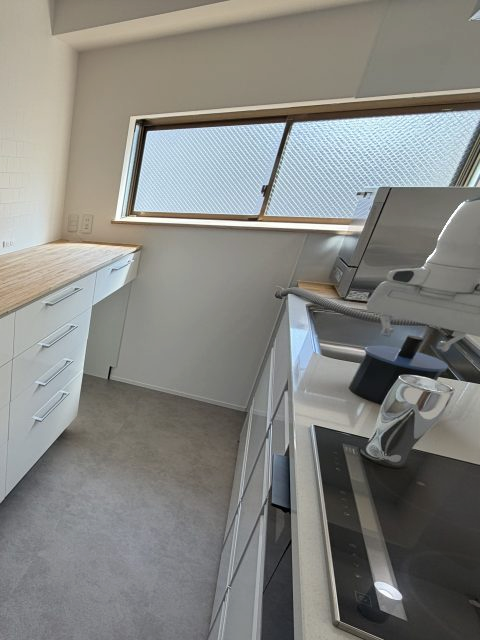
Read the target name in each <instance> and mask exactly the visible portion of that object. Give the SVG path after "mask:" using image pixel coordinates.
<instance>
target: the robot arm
mask: <svg viewBox="0 0 480 640" xmlns="http://www.w3.org/2000/svg"><path fill="white" fill-rule="evenodd" d="M365 307H366V310H367V311H368V312H372V313H376V314H381V315H382V316H381V317H380V323H381V326H382V327H381V328H382V329H381V331H380V333H379V335H380V336H383V337H386V338H387V337H391V336H392V335H393V333H394V332H395V328H393V327H391V321H392V320H394V319H395V318H397V319H401V320H405V321H410V322H415V323H419V324H423V325H428V326H431V327H436V328H440V329H444V330H448V331H452V334H451V337H453V338H451V339H449V340H447V341H445V340H441V341H438V343H437V346H435V347H434V349H435V350H437V351H440V352H444V353H445V352H447V351H448V350H449V349H450V347H451V346H452V345H453V344H454V343H457V342H458V341H460V340H461V339H463V338H465V337H466V335H470V336H475V337H479V338H480V195H475V196H472V197H469V198H467V199H465V200H464V201H463V202H462V203H460V205H459V206H458V207H457V208H456V210H455V211H454V212H453V214H452V215H451V216H450V217H449V219H448V221H447V222H446V224H445V226H444V228H443V229H442V231H441V232H440V234H439V236H438V238H437V241H436V247H435V248H434V251H433V252H432V253H431V254H430V255H429V256H428V257H427V259H426V260H425V262H424V264H423V265H422V266H421V267H419V266H413V267H409V268H399V269H398V268H397V269H393V270H390V271H389V272H388V273H387V274H386V280H385V281H383V282H381V283H379V285H377V287H376V288H375V289H374V290H373V292H372V294H371V295H370V297H369V299H368V300H367V303H366V304H365Z"/></svg>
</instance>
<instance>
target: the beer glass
mask: <svg viewBox="0 0 480 640" xmlns="http://www.w3.org/2000/svg"><path fill="white" fill-rule="evenodd" d="M455 392H456V389H455V388H454V387H453V386H451V385H450V384H447V383H444V381H443V382H442V381H440V380H438V379H437V380H434V379H430V378H426V377H422V376H416V375H400V376H399V378H398V379H397V381H396V382H395V384H394V385H393V386H392V388H391V389H390V391H389V392H388V394H387V395H386V397H385V399H384V401H383V403H382V405H381V404H380V405H381V406H380V408H379V410H378V415H377V418H376V422H375V426H374V428H373V431H372V433H371V435H370V437H369V439H368V440H367V441H366V442H365V443H364V444H363V445H362V446H361V447H360V448H359V453H360V454H361V455H362V456H363V457H364V458H366V459H367V460H369V461H371V462H373V463H375V464H378V465H381V466H383V467H387V468H392V469H402V468H404V467H405V466H406V465H407V462H408V458H409V455H410V454H411V453H410V452H411V451H412V449H413V448H414V447H415V445H416V444H417V443H418V442H419V441H420V440H421V439H422V438H423V437H424V436H425V435H426V434H427V433H428V432H429V431H430V430H431V429H432V428H433V427H434V426H435V425H436V423H438V421H439V420H440V419H441V417H442V416H443V414H444V413H445V411H446V409H447V407H448V405H449V403H450V401H451V399H452V397H453V395H454V393H455Z"/></svg>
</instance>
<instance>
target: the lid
mask: <svg viewBox="0 0 480 640" xmlns="http://www.w3.org/2000/svg"><path fill="white" fill-rule="evenodd" d="M424 340H425V339H424V337H422V336H421V337H420V336H417V335H407V336H406V338H405V340H404V342H403V343H402V345H401V347H395V346H389V345H377V344H376V345H368V346H366V347H365V349H364V352H365V354H366V353H367V354H368V355H370V356H372V357H374V358H376V359H379V360H382V361H384V362H387V363H391V364H394V365H398V366H402V367H406V368H411V369H417V370H424V371H442V372H445V371H446V370H448V368H449V365H448V364H447V363H446V362H445V361H443V360H441V359H439V358H437V357H434V356H432V355H429V354H425V353H422V352H419V349H420V347H421V345H422V344H423V342H424Z"/></svg>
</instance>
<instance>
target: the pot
mask: <svg viewBox="0 0 480 640" xmlns="http://www.w3.org/2000/svg"><path fill="white" fill-rule="evenodd" d="M442 372H443V371H424V370H417V369H411V368H406V367H402V366H398V365H394V364H391V363H387V362H384V361H382V360H379V359H376V358H374V357H372V356H370V355H368V354H367V353H366V352H365V354H364V356H363V358H362V360H361V362H360V363H359V366H358V367H357V370H356V371H355V374H354V376H353V377H352V379H351V381H350V383H349V385H348V389H349V391H350V392H352V393H353V394H355V396H358V397H359V398H362V399H364V400H367V401H369V402H372V403H375V404H377V405H382V403H383V401H384V399H385V397H386V395H387V394H388V392H389V391H390V389H391V388H392V386H393V385H394V384H395V382H396V381H397V379H398V378H399V376H400V375H416V376H422V377H426V378H430V379H434V380H437V381H438V379H439V377H440V376H441V374H442Z"/></svg>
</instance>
